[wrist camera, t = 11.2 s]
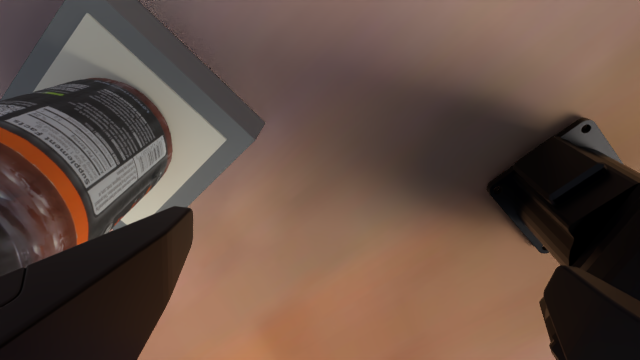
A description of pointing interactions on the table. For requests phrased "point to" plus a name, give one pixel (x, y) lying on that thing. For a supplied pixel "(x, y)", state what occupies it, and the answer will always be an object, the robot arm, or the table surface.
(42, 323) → the robot arm
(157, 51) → the plinth
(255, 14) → the table surface
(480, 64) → the table surface
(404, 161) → the table surface
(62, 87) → the supplement bottle
